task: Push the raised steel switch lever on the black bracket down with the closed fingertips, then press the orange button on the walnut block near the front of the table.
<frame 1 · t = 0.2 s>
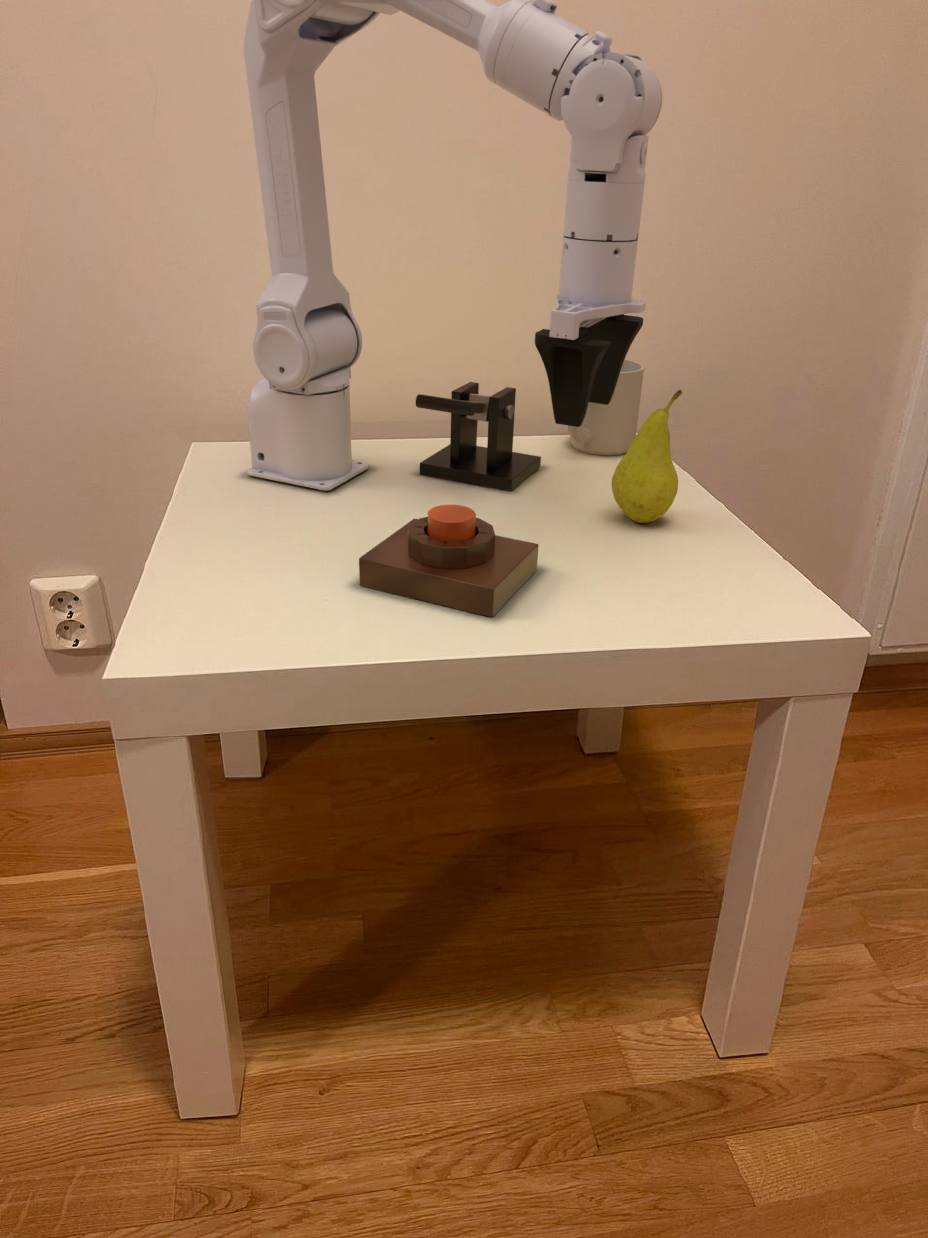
hand: (583, 412, 76), 10 cm above the table, tool pointing down, fingers open, 7 cm apart
cancel button: (451, 523, 68), point 5 cm above the table, slide at 0.1 cm
cup: (594, 450, 100), on the table
switch bracket: (480, 470, 93), on the table
button block: (450, 577, 70), on the table
switch lever: (466, 406, 86), point 8 cm above the table, hinge at 15.0°
fruit: (640, 521, 82), on the table
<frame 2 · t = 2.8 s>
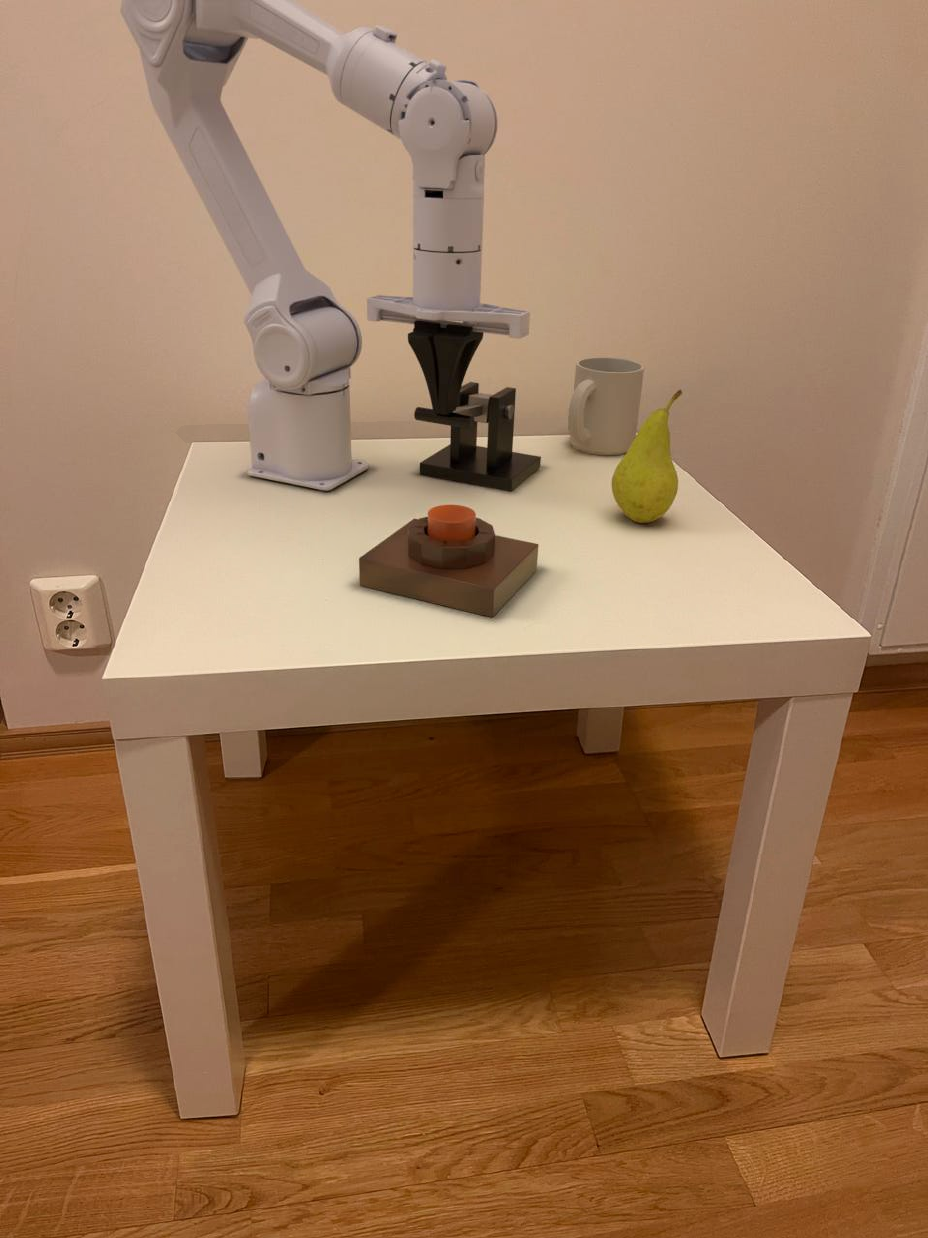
hand: (444, 411, 81), 8 cm above the table, tool pointing down, fingers closed, pressing on switch lever
switch lever: (466, 412, 86), point 7 cm above the table, hinge at 7.7°, touching gripper
everything else where it was.
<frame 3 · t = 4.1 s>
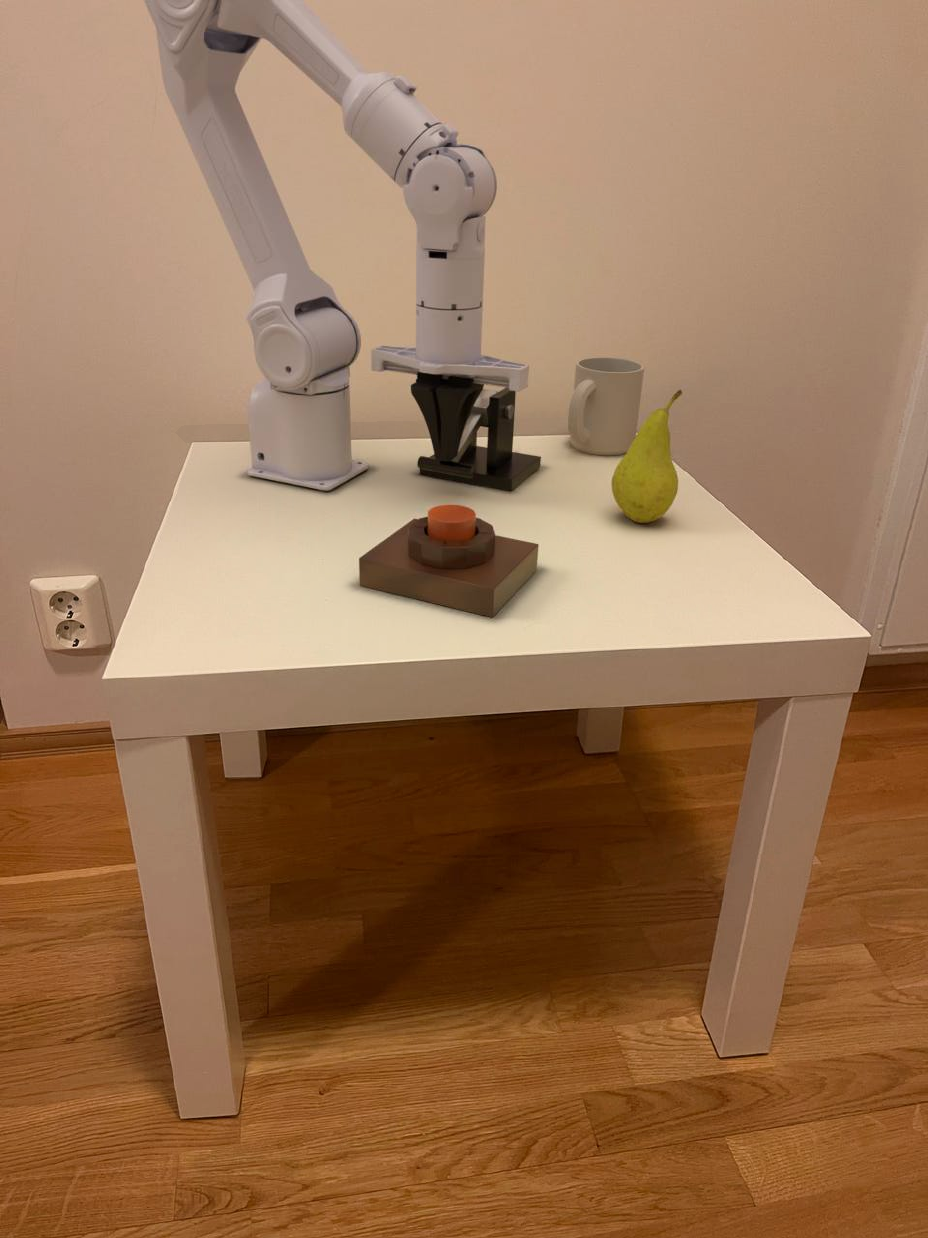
hand: (446, 457, 84), 4 cm above the table, tool pointing down, fingers closed, pressing on switch lever
switch lever: (466, 433, 87), point 5 cm above the table, hinge at -23.6°, touching gripper
everything else where it was.
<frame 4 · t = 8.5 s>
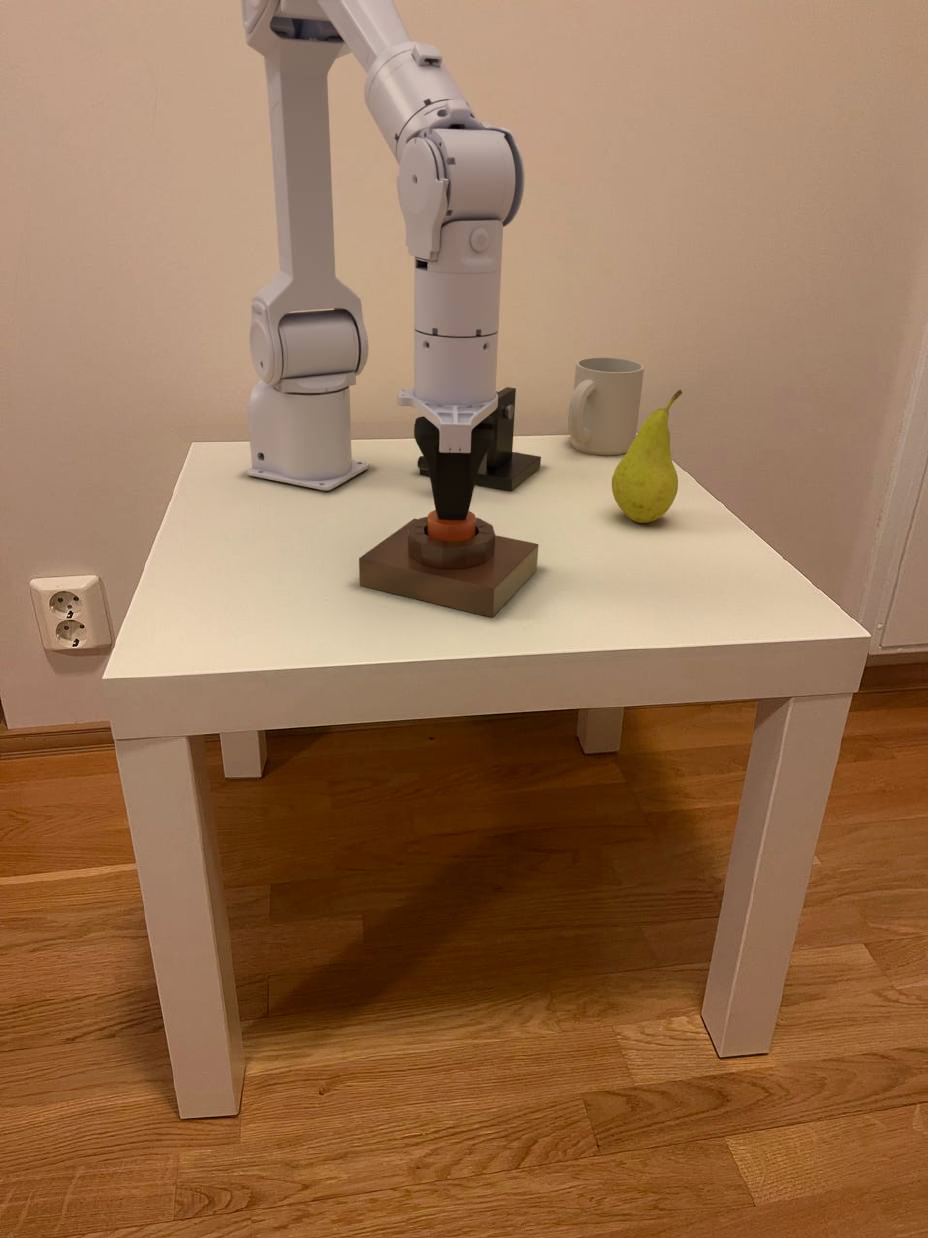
hand: (451, 516, 68), 5 cm above the table, tool pointing down, fingers closed, pressing on cancel button
cancel button: (451, 527, 68), point 4 cm above the table, slide at -0.1 cm, touching gripper
switch lever: (466, 433, 87), point 5 cm above the table, hinge at -23.6°
everything else where it was.
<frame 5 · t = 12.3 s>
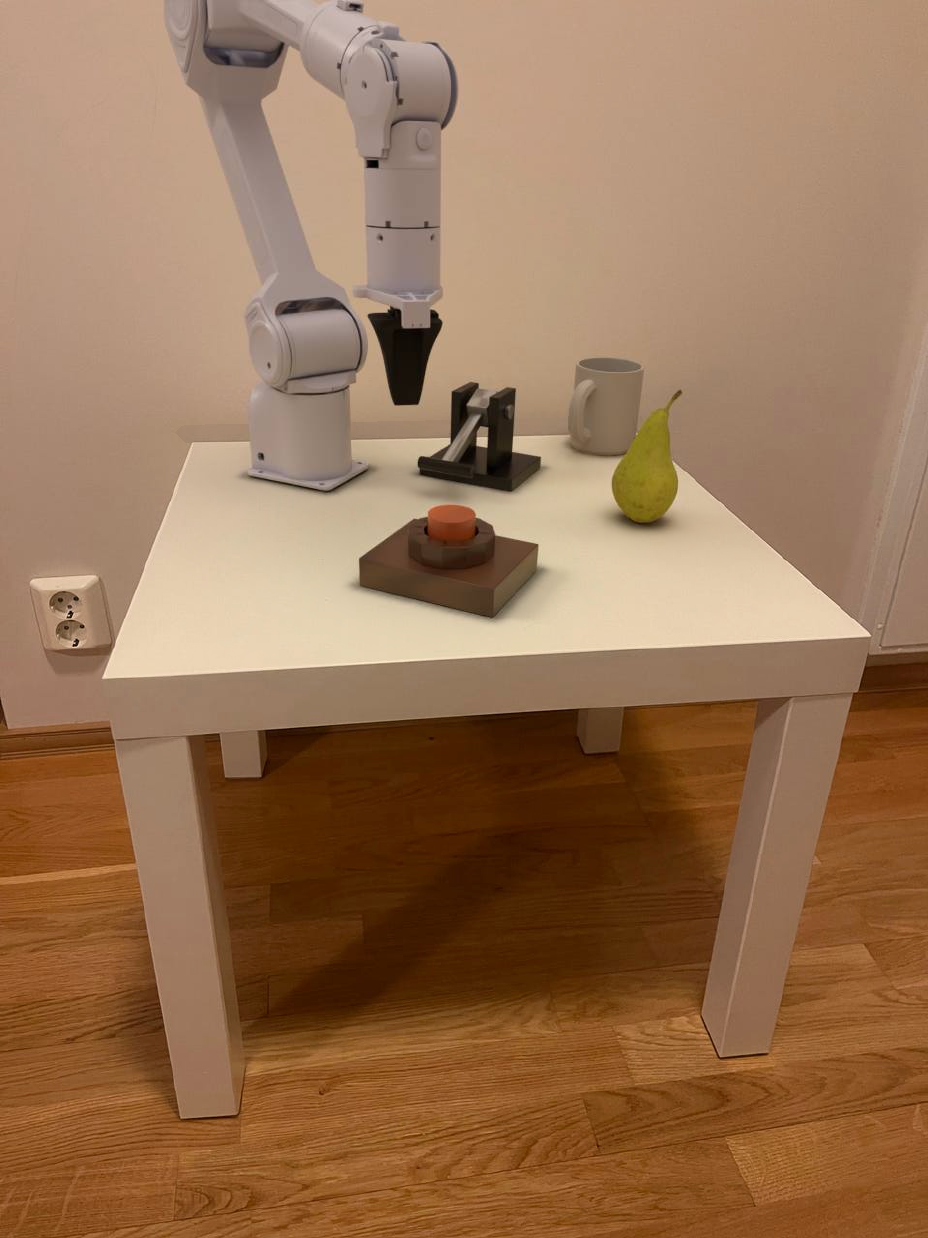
hand: (405, 403, 76), 10 cm above the table, tool pointing down, fingers closed
cancel button: (451, 523, 68), point 5 cm above the table, slide at 0.1 cm
everything else where it was.
at the end: switch lever at -24° (first picture: +15°); cancel button pushed in 1.1 cm at the most during the clip, back to where it started at the end; cancel button slide at 0.1 cm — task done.
